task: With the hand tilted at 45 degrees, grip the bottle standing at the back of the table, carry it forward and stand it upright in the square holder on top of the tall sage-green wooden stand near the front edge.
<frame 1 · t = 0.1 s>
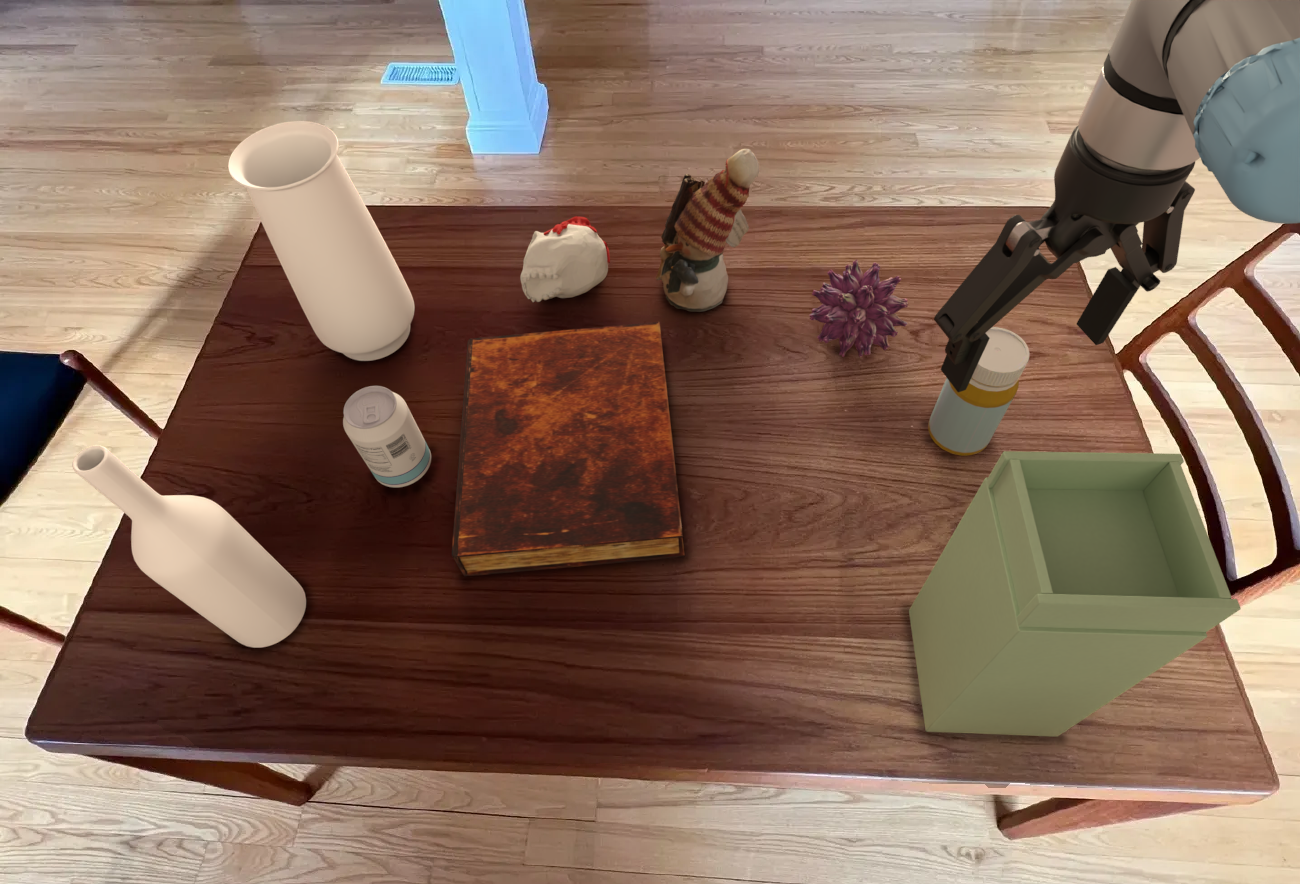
hand: (1022, 356, 68), 24 cm above the table, tool pointing down, fingers open, 13 cm apart
white and red skull: (573, 279, 110), on the table
beverage can: (405, 467, 94), on the table
bottle 2: (269, 612, 84), on the table
flower: (850, 341, 101), on the table
vase: (374, 334, 106), on the table
book: (571, 453, 94), on the table
figurine: (702, 286, 108), on the table
stand: (1089, 551, 55), on the table
bottle: (957, 434, 92), on the table
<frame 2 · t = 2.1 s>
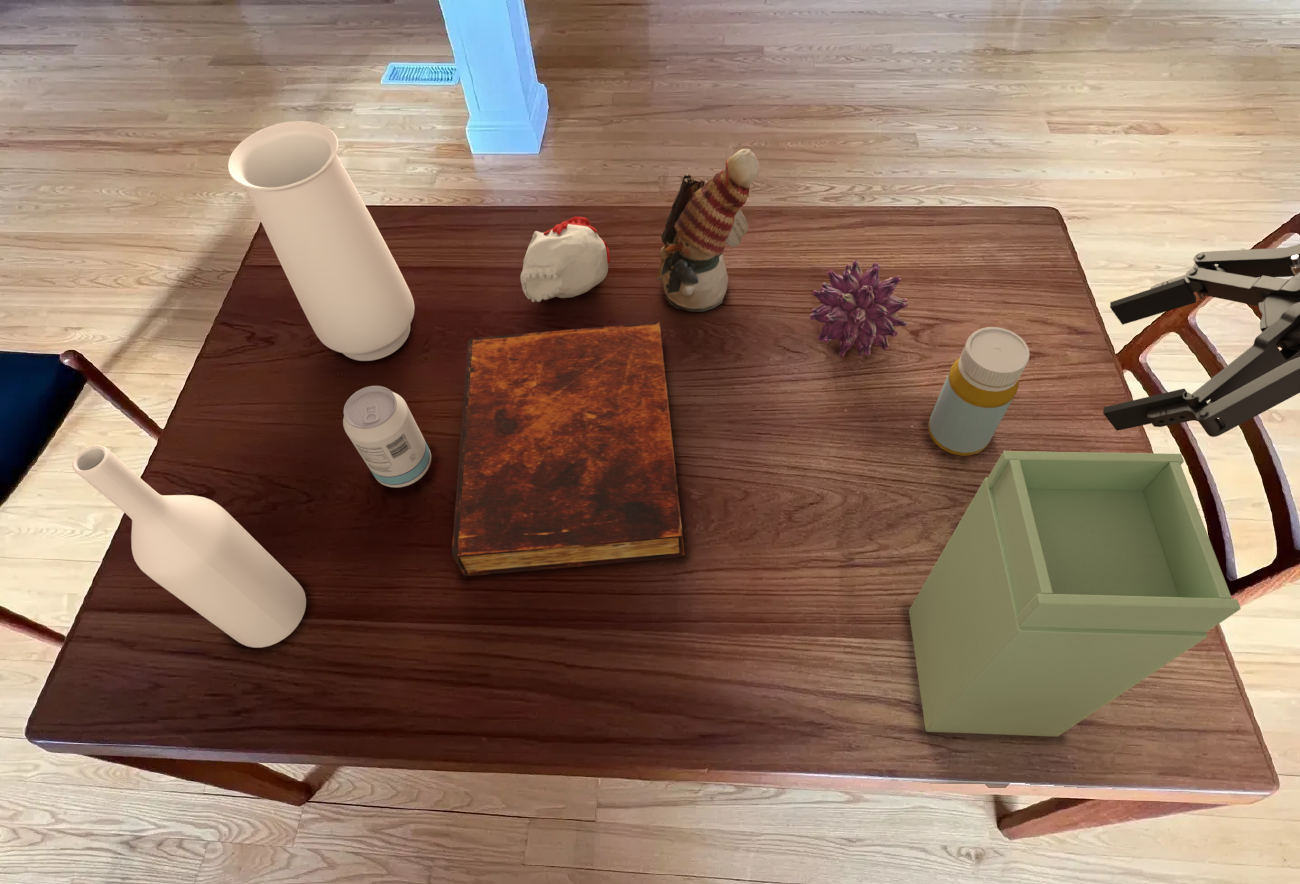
hand: (1112, 364, 76), 17 cm above the table, tool tilted 45°, fingers open, 13 cm apart
nothing on the table moved.
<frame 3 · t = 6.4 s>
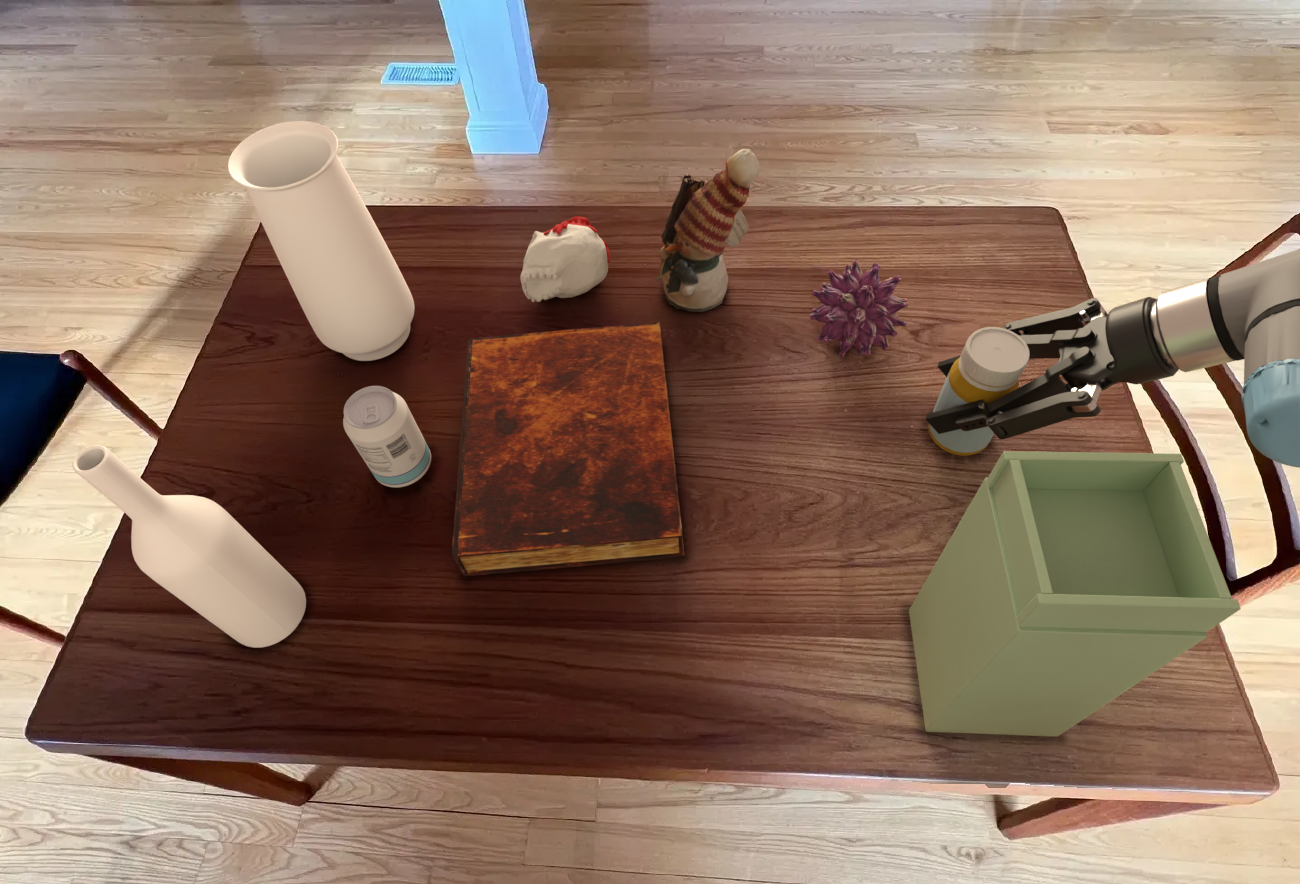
hand: (939, 397, 88), 6 cm above the table, tool tilted 45°, fingers closed on bottle, 7 cm apart
bottle: (957, 434, 92), on the table, touching gripper
everything else where it was.
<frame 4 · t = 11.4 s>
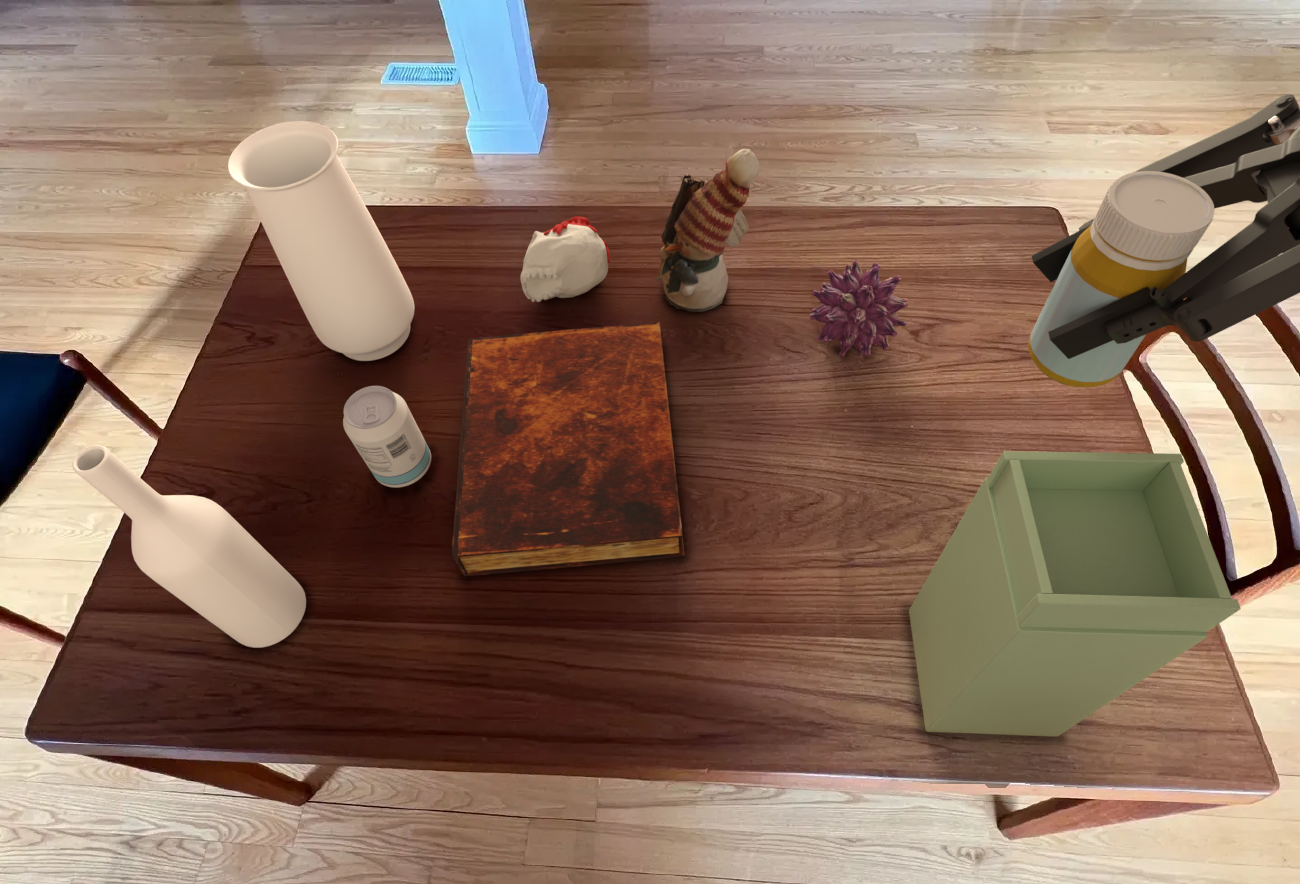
hand: (1050, 305, 58), 34 cm above the table, tool tilted 45°, fingers closed on bottle, 7 cm apart
bottle: (1071, 359, 62), point 28 cm above the table, touching gripper
everything else where it was.
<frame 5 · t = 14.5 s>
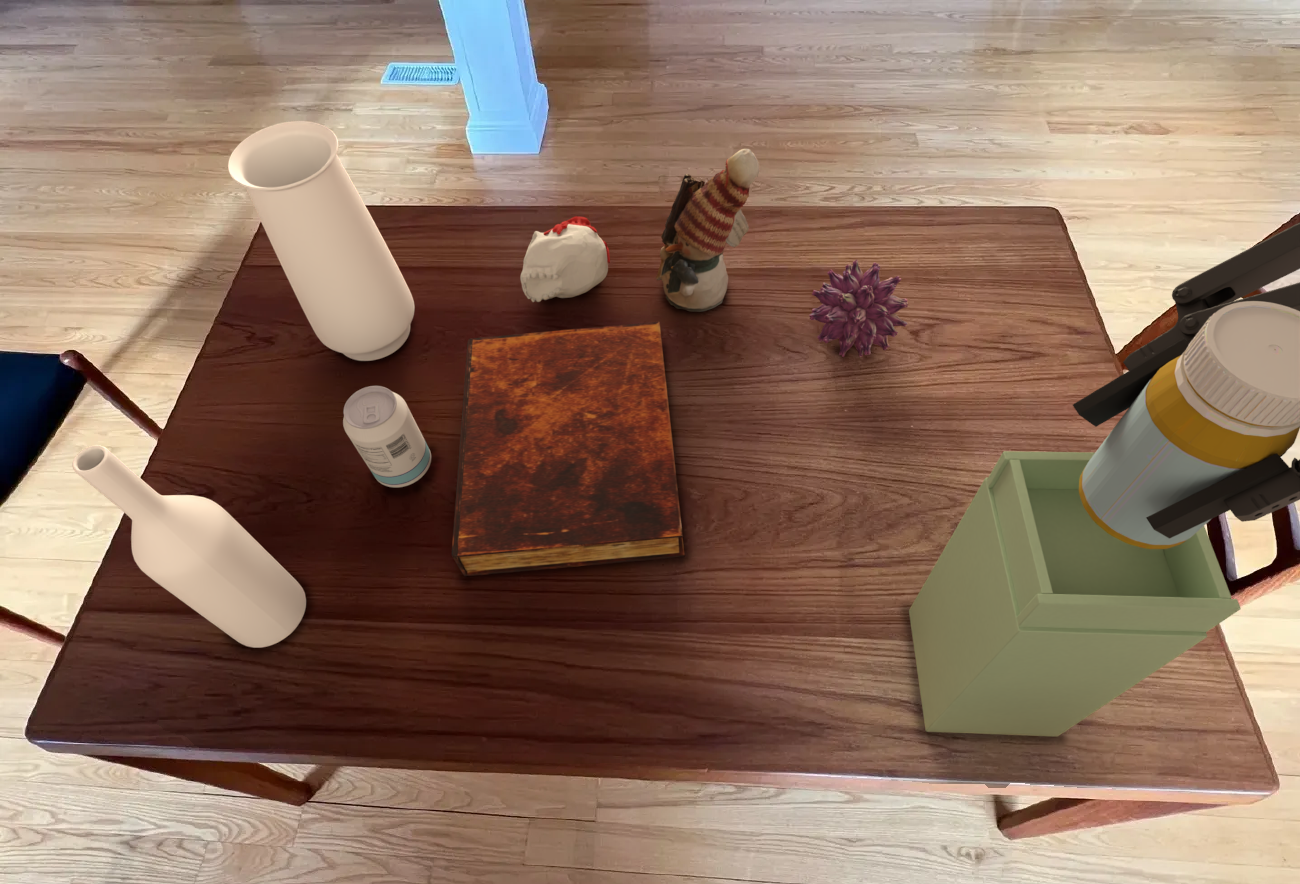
hand: (1119, 469, 45), 38 cm above the table, tool tilted 45°, fingers closed on bottle, 7 cm apart
bottle: (1131, 505, 50), point 32 cm above the table, touching gripper
everything else where it was.
when the fingers open (31 cm above the table, at t = 16.7 s): bottle stays where it is, resting on stand.
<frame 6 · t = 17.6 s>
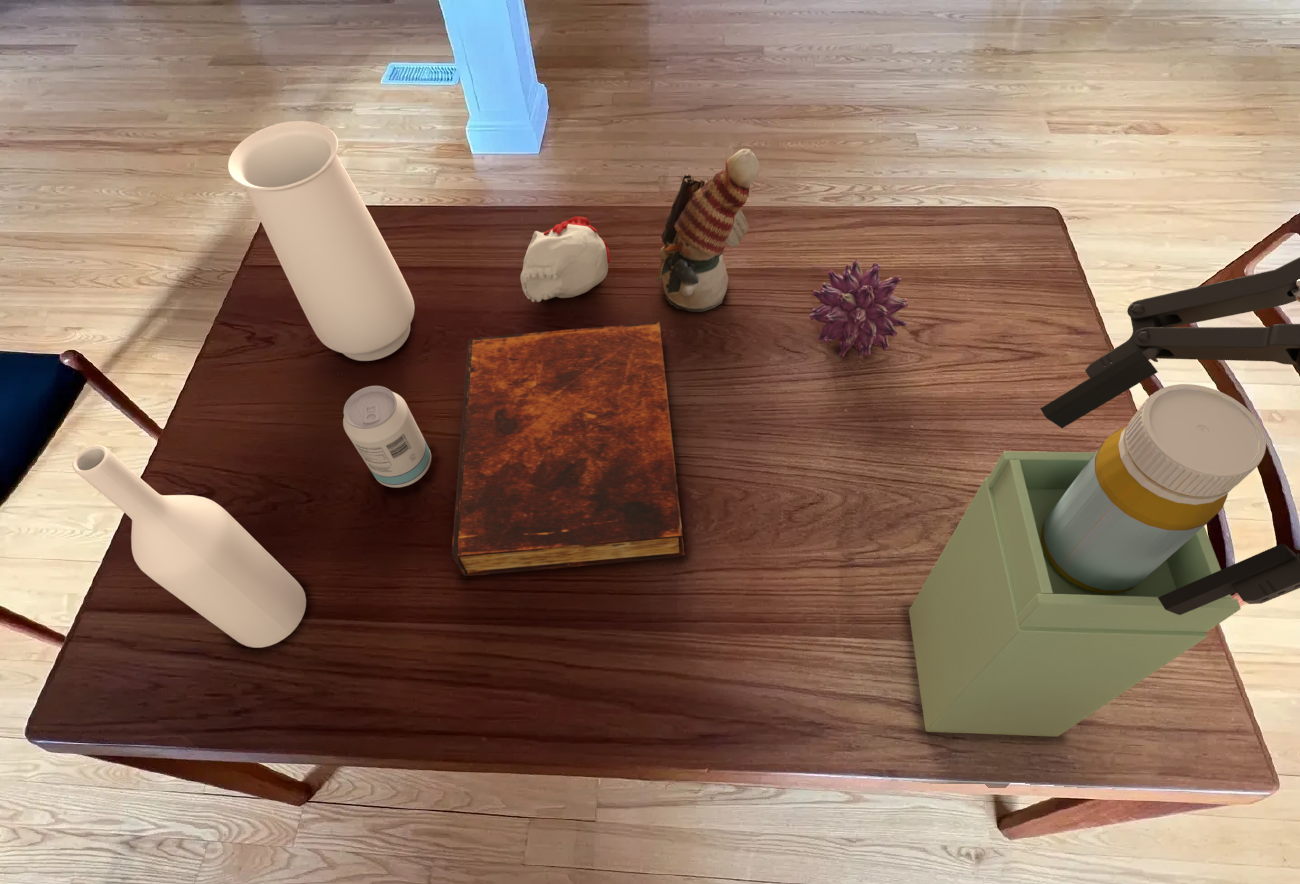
hand: (1104, 505, 49), 34 cm above the table, tool tilted 45°, fingers open, 13 cm apart
bottle: (1089, 552, 55), point 26 cm above the table, touching stand
everything else where it was.
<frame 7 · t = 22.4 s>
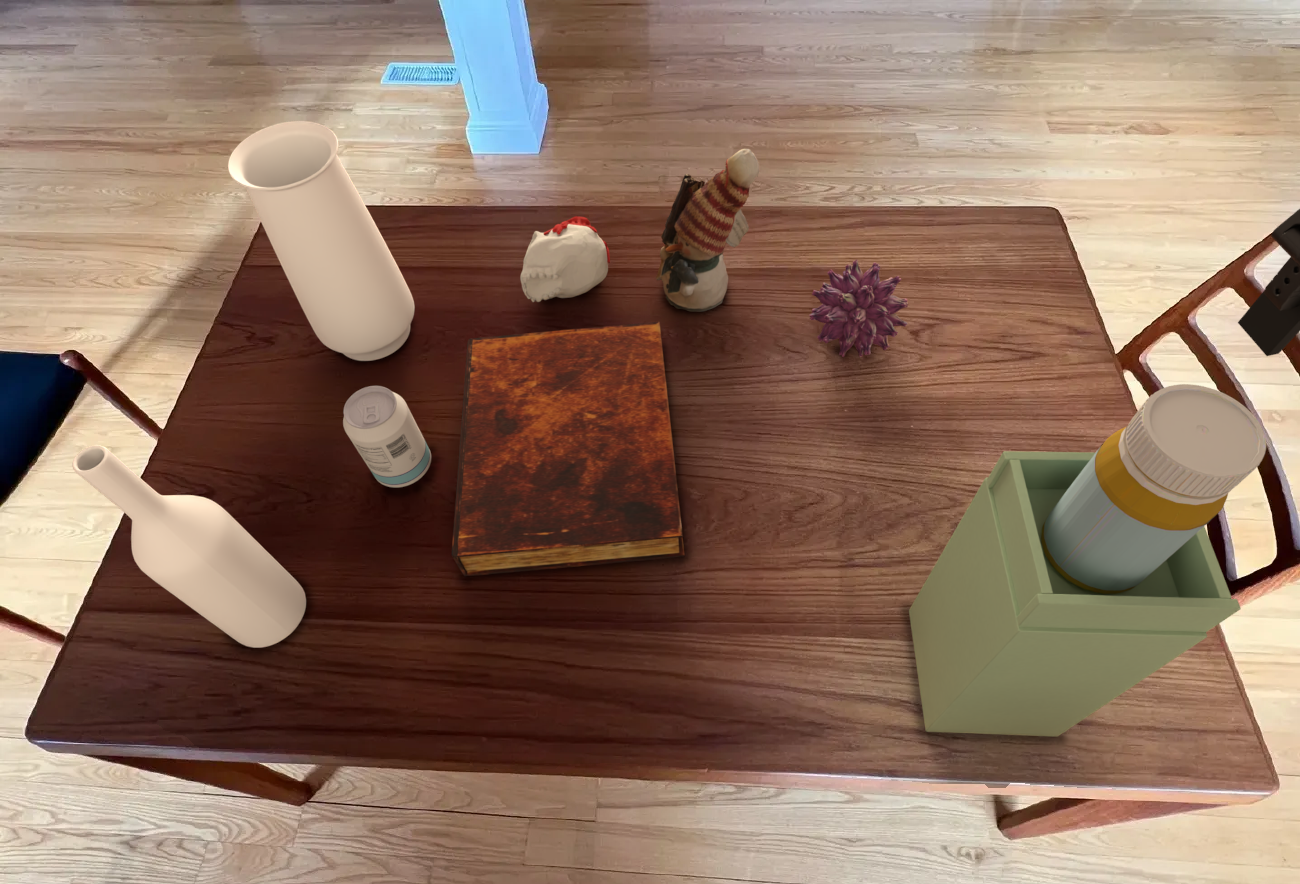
nothing on the table moved.
at the end: bottle inside the target area on the stand (0.1 cm from its centre), point 0.0 cm above the stand's base; bottle tilted 0°; the gripper is holding nothing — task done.
